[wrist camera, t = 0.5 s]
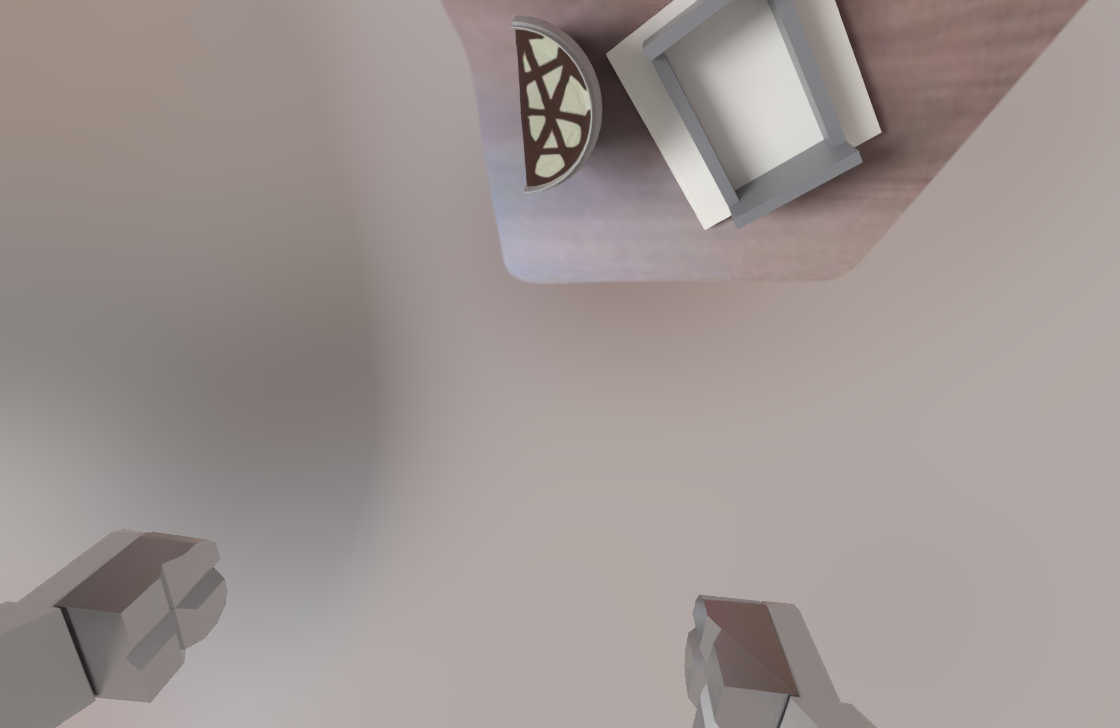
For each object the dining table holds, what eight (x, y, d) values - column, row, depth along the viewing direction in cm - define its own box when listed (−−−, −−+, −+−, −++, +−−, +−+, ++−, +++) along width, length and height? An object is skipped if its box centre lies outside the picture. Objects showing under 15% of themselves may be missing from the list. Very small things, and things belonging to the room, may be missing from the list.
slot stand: (796, -97, 37) (822, -111, 31) (877, 129, 44) (909, 151, 38) (606, 52, 44) (599, 63, 38) (704, 226, 51) (710, 255, 46)
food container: (607, 165, 49) (599, 200, 41) (544, 165, 50) (523, 199, 42) (610, 8, 42) (601, 13, 34) (536, 10, 43) (509, 17, 35)
